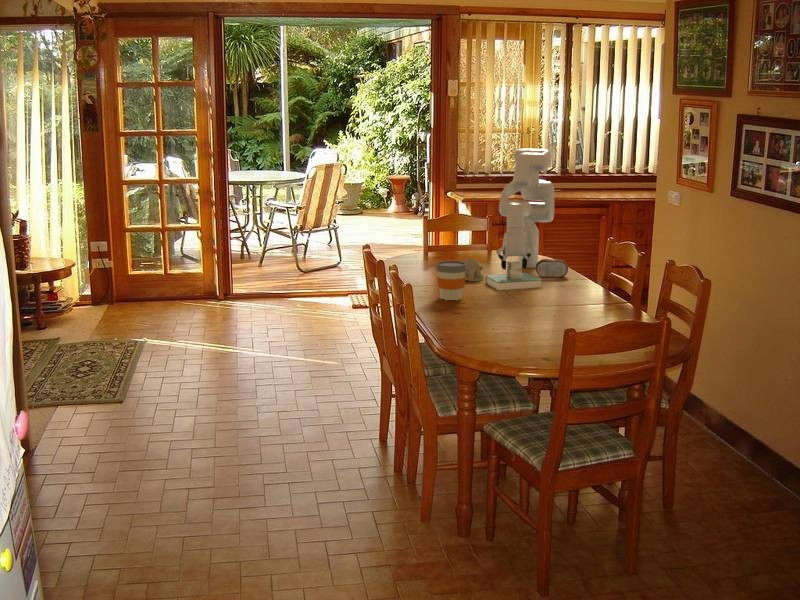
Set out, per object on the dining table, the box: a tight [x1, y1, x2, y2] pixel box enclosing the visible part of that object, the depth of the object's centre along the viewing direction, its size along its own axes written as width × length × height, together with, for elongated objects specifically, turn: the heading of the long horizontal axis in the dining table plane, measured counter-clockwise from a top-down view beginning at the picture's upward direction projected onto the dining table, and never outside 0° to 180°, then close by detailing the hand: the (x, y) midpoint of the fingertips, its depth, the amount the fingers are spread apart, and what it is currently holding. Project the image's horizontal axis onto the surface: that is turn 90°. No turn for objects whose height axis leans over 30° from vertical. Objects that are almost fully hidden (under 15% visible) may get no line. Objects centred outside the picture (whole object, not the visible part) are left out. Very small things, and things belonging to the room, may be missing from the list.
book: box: [485, 272, 543, 291], centre depth 419 cm, size 15×21×4 cm
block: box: [506, 260, 523, 279], centre depth 418 cm, size 5×5×7 cm
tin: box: [535, 258, 569, 278], centre depth 436 cm, size 15×3×8 cm, turn 84°
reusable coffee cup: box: [436, 260, 466, 301], centre depth 393 cm, size 13×12×15 cm
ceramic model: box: [460, 257, 485, 282], centre depth 432 cm, size 14×11×10 cm
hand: (514, 268), depth 417 cm, fingers open, 9 cm apart
